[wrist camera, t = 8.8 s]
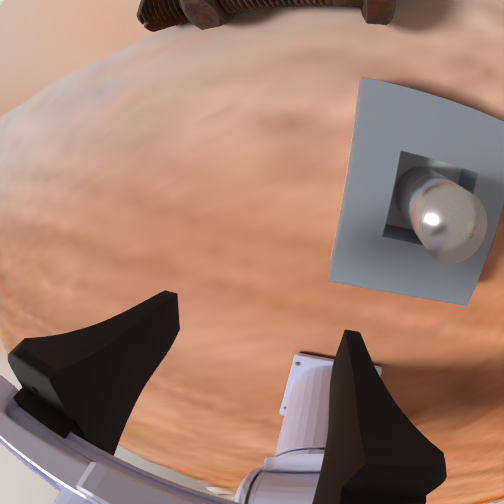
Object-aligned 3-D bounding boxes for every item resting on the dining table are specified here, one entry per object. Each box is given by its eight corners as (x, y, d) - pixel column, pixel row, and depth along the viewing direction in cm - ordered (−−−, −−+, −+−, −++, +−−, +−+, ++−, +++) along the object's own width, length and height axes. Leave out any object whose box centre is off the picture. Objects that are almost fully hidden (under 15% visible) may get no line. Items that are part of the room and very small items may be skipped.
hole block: (454, 283, 19) (466, 306, 17) (329, 259, 21) (328, 281, 18) (496, 124, 14) (519, 128, 11) (358, 83, 16) (363, 77, 13)
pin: (442, 222, 17) (479, 263, 12) (393, 220, 18) (417, 263, 13) (447, 168, 16) (491, 193, 11) (395, 164, 17) (425, 187, 11)
